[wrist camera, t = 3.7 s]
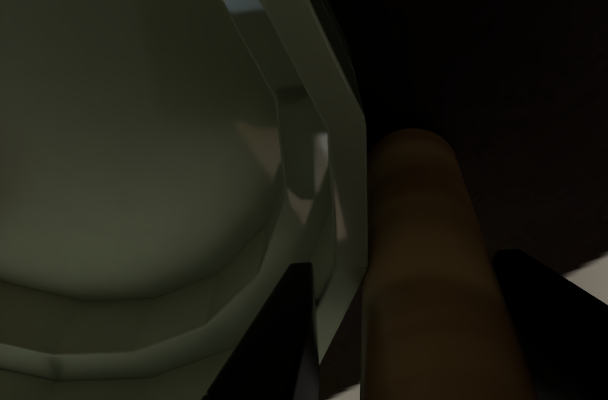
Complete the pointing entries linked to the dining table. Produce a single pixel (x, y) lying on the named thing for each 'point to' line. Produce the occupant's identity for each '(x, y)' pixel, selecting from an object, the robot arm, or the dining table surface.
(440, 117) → the dining table surface
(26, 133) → the bowl
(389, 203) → the stick
